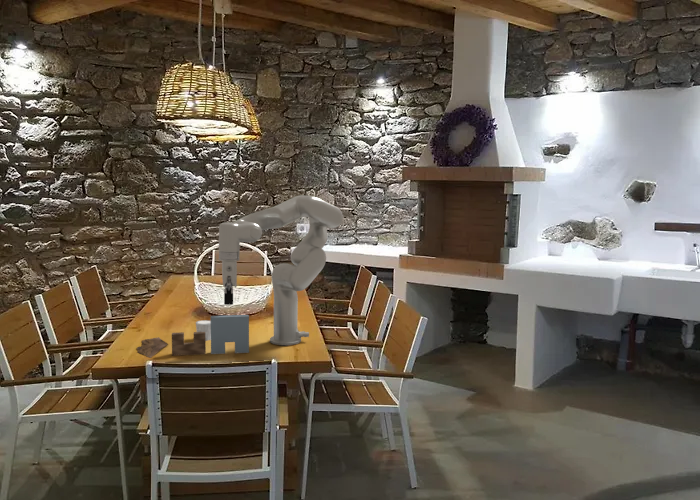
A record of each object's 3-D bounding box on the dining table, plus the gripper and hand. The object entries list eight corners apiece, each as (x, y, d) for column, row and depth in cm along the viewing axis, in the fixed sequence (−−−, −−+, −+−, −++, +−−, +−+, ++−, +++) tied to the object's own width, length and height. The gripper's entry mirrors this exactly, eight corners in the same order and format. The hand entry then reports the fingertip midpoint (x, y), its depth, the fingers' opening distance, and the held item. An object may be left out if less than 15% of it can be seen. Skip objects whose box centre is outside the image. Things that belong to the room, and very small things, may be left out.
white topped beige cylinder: (196, 341, 245) (196, 324, 244) (195, 337, 251) (195, 320, 250) (213, 340, 247) (213, 323, 246) (212, 336, 253) (212, 319, 252)
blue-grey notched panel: (248, 350, 234) (248, 314, 232) (248, 352, 232) (248, 316, 230) (211, 352, 231) (210, 315, 229) (210, 354, 229) (210, 317, 227)
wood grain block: (205, 352, 231) (205, 331, 230) (205, 354, 228) (205, 333, 227) (172, 353, 228) (172, 332, 227) (172, 355, 226) (171, 334, 225)
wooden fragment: (143, 339, 248) (143, 336, 247) (171, 338, 249) (171, 336, 249) (131, 359, 222) (130, 356, 222) (162, 358, 224) (162, 355, 224)
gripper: (239, 259, 219) (239, 306, 221) (239, 253, 236) (238, 297, 238) (218, 259, 217) (218, 306, 219) (219, 253, 234) (218, 297, 236)
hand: (228, 301), depth 229 cm, fingers open, 9 cm apart
